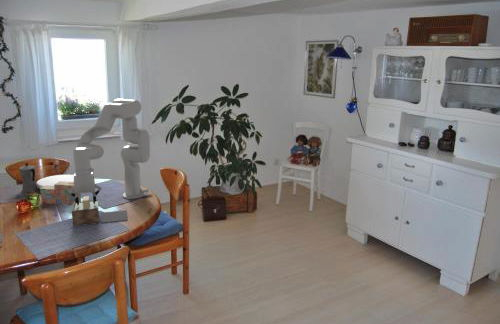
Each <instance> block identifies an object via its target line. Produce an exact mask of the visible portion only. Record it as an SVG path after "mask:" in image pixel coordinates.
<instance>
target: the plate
mask: <svg viewBox="0 0 500 324" xmlns="http://www.w3.org/2000/svg"><path fill="white" fill-rule="evenodd" d="M59 181H64V182H74V174H56V175H50V176H46V177H43V178H41V179H39V180H37V181H36V185H37V188H38V189H40V188H42V187H44V186H46V185H49V186H54V184H56V183H58V182H59Z"/></svg>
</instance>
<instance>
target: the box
mask: <svg viewBox="0 0 500 324" xmlns="http://www.w3.org/2000/svg"><path fill="white" fill-rule="evenodd" d="M96 201H98V202H99V200H98V199H96ZM90 202H93V200H90ZM79 203H83V202H82V201H81V202H79ZM75 205H76V202H74V204H73V205H72V208H71V217H72V227H76V226H75V225H79V226H84V225H83V224H88V225H94V224H93V223H97V224H99V220H98V219H100V212H99V208H98V210H97V208H93V209H83V210H74V209H75Z"/></svg>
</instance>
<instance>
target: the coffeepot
mask: <svg viewBox="0 0 500 324" xmlns="http://www.w3.org/2000/svg"><path fill="white" fill-rule="evenodd" d="M18 169H19V172H20V175H21V179H22V192H23V193H26V192H27V193H34V192H37V191H38V190H39V187H37V181H36V178H35V177H36V166H35V165H29V163H28V162H25V163H24V165H23V166H20V167H19V168H18Z"/></svg>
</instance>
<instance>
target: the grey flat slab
mask: <svg viewBox="0 0 500 324" xmlns="http://www.w3.org/2000/svg"><path fill="white" fill-rule="evenodd" d="M127 214H128V213H127V209H125V210H115V211H113V210H112V211H106V212H105V211H104V212H101V220H100V221H101V222H100V223H101V224H107V223H108V222H110V223H118V222H126V221H128V215H127Z"/></svg>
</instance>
